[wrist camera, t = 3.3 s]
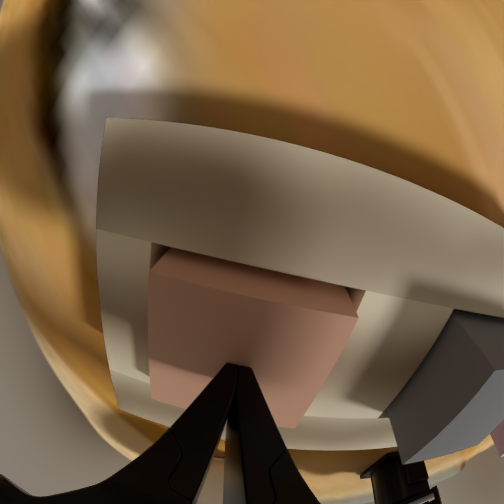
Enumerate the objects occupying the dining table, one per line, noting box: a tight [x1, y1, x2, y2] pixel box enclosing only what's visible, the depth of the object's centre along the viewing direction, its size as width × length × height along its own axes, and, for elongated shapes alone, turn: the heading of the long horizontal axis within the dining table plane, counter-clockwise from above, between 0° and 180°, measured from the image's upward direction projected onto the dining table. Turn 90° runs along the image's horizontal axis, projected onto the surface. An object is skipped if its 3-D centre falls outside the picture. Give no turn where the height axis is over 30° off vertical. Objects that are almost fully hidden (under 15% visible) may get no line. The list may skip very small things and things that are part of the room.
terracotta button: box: [148, 247, 359, 428], centre depth 10 cm, size 6×6×4 cm
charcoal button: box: [386, 309, 504, 465], centre depth 8 cm, size 6×6×4 cm
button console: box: [96, 117, 504, 450], centre depth 11 cm, size 14×22×4 cm, turn 78°
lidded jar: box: [196, 457, 224, 504], centre depth 18 cm, size 11×11×9 cm
